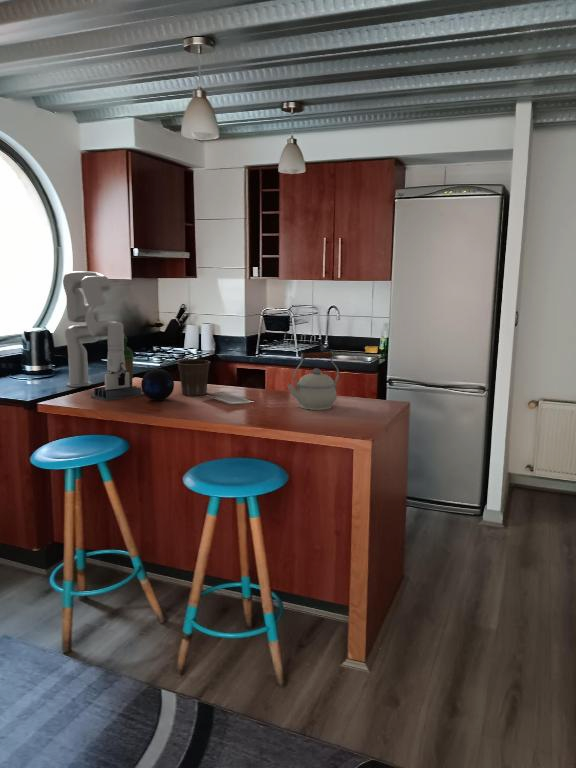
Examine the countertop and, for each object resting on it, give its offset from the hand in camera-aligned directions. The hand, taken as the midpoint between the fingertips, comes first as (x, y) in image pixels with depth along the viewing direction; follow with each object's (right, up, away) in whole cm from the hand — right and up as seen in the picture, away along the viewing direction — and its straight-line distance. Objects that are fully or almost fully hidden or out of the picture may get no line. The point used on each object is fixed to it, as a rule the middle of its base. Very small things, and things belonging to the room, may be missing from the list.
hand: (117, 383), depth 304 cm
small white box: (0, -5, +1) cm, 5 cm away
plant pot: (+36, -5, +8) cm, 37 cm away
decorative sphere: (+22, -8, -9) cm, 25 cm away
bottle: (-2, -3, +21) cm, 21 cm away
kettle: (+94, -11, -21) cm, 97 cm away
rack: (0, -6, +1) cm, 6 cm away
